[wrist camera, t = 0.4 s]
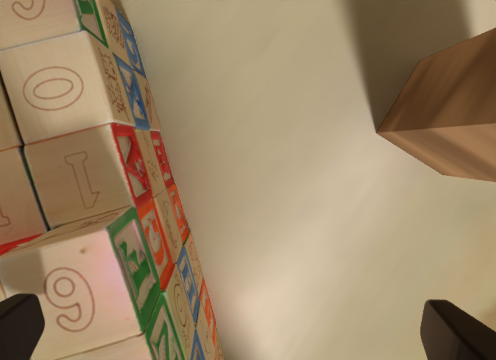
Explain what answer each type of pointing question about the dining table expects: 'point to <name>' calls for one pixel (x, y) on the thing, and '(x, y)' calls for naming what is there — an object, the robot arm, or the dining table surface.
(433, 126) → the pillar
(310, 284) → the dining table surface
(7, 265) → the stack of blocks
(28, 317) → the robot arm
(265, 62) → the dining table surface
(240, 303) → the dining table surface
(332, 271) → the dining table surface
